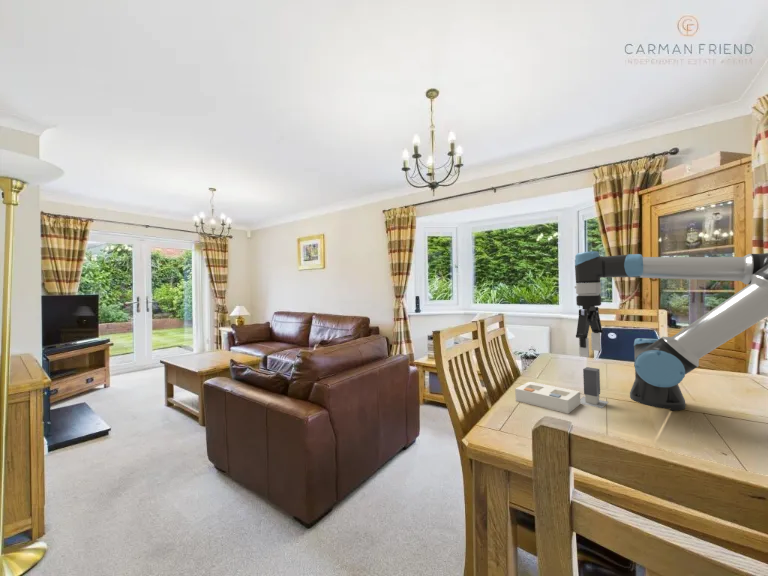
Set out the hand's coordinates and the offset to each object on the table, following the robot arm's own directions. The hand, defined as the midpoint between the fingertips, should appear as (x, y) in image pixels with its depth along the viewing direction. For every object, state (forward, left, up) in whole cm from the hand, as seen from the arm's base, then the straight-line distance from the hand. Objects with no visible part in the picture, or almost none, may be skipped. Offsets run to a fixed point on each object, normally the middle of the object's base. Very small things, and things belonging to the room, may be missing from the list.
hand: (590, 353), depth 115 cm
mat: (0, 0, -18) cm, 18 cm away
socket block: (+11, +11, -18) cm, 24 cm away
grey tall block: (0, 0, -18) cm, 18 cm away
